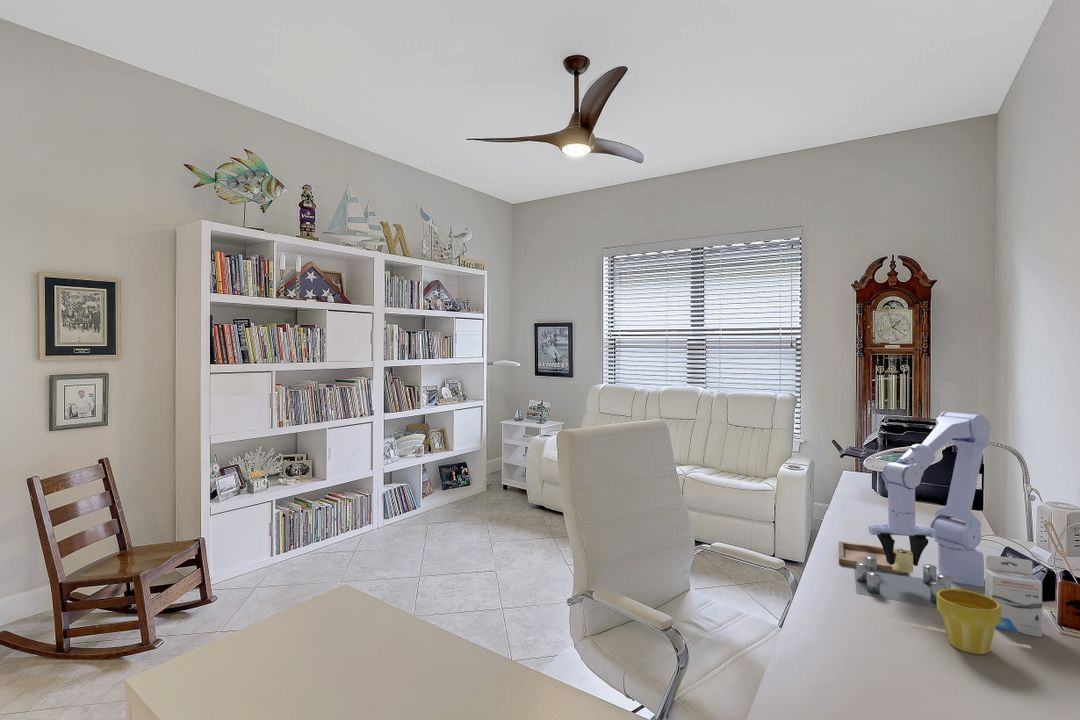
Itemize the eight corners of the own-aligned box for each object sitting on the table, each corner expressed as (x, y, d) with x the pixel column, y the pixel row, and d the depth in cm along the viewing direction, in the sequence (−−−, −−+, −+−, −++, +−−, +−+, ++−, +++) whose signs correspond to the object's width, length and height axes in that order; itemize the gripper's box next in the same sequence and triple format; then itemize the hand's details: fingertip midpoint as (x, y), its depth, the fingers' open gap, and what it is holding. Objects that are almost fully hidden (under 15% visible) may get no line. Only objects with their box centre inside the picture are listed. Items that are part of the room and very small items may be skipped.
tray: (900, 556, 159) (900, 549, 159) (907, 576, 145) (906, 568, 145) (838, 547, 166) (838, 541, 166) (838, 566, 152) (838, 558, 152)
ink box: (992, 629, 117) (991, 562, 117) (984, 619, 121) (984, 554, 121) (1043, 638, 113) (1042, 568, 113) (1033, 627, 118) (1033, 559, 118)
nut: (911, 567, 138) (911, 549, 138) (913, 574, 134) (913, 556, 134) (890, 564, 140) (890, 546, 140) (892, 571, 136) (892, 553, 136)
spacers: (945, 584, 139) (945, 566, 139) (957, 608, 126) (956, 589, 126) (855, 570, 148) (855, 553, 148) (857, 591, 135) (857, 573, 135)
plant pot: (938, 627, 118) (938, 583, 118) (1000, 643, 111) (1000, 596, 111) (935, 648, 110) (934, 600, 110) (1001, 666, 103) (1001, 615, 103)
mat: (945, 583, 140) (945, 582, 140) (960, 613, 124) (960, 611, 124) (854, 569, 150) (854, 567, 150) (856, 595, 134) (856, 593, 134)
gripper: (925, 507, 139) (926, 559, 139) (864, 504, 142) (864, 556, 142) (940, 515, 132) (940, 570, 132) (874, 512, 135) (875, 566, 135)
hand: (902, 563), depth 137 cm, fingers closed on nut, 5 cm apart
